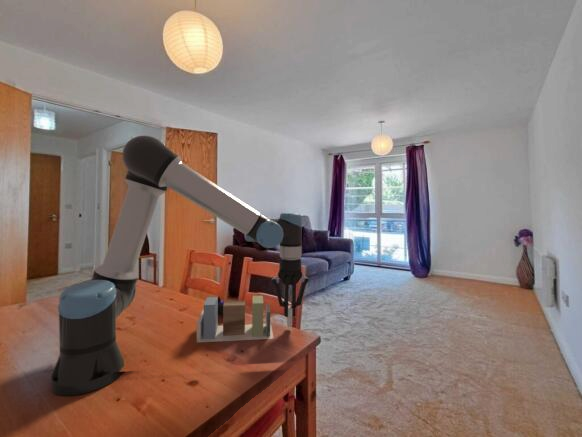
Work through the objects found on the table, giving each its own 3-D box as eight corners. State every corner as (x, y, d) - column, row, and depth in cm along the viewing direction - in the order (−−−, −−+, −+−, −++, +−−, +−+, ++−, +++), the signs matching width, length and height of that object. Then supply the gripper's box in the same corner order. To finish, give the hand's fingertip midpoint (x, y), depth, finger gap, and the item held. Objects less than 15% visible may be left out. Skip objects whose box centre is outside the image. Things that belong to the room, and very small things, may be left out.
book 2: (244, 334, 95) (244, 305, 94) (223, 335, 94) (223, 305, 93) (244, 329, 99) (245, 300, 99) (224, 329, 98) (224, 301, 98)
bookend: (270, 336, 94) (270, 312, 93) (267, 336, 93) (267, 312, 93) (268, 325, 102) (268, 303, 102) (265, 325, 102) (265, 303, 102)
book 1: (214, 338, 92) (214, 304, 91) (203, 339, 91) (203, 305, 91) (217, 328, 99) (217, 296, 99) (207, 328, 99) (207, 297, 99)
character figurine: (218, 311, 120) (243, 321, 111) (204, 315, 114) (229, 325, 105) (219, 293, 120) (245, 300, 111) (205, 296, 114) (231, 304, 105)
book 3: (263, 336, 94) (263, 303, 93) (252, 336, 93) (252, 303, 93) (262, 326, 102) (262, 295, 101) (252, 326, 101) (252, 295, 101)
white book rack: (273, 343, 92) (273, 320, 92) (196, 347, 89) (196, 323, 89) (270, 327, 104) (271, 307, 104) (202, 330, 101) (203, 309, 100)
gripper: (306, 255, 103) (305, 320, 104) (270, 256, 101) (270, 321, 102) (311, 259, 95) (310, 329, 96) (272, 260, 93) (271, 331, 94)
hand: (289, 325), depth 99 cm, fingers closed
